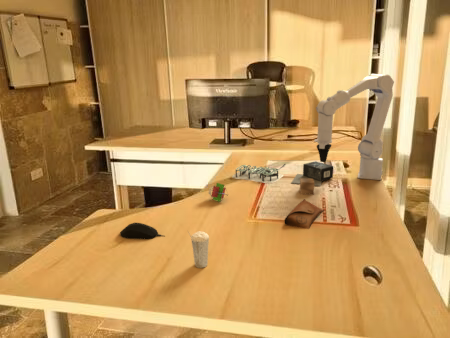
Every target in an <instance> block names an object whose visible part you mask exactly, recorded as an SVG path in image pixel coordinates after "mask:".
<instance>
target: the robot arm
mask: <svg viewBox="0 0 450 338" xmlns="http://www.w3.org/2000/svg"><path fill="white" fill-rule="evenodd" d="M394 83H395V81H394V79H393V78H392V76H391V75H389V74H381V73H380V74H379V73H370V74H368V75H367V76H365V77H364V78H363V79H362V80H360V81H358V82H357V83H356V84H354V85H352V86H351V87H350V88H349V89H347V90H343V89H342V90H340V89H338V90H337V91H336V93H334V94H333V95H331V96H328V97H326V99H322V100H320V101H319V102H318V104H317V105H316V107H315V110H316V112H317V114H318V117H317V119H318V121H317V138H316V139H314V140H313V141H314V143H317V145H316V149H317V151H318V155H319V162H320V163H326V162H327V159H328V156H329V155H328V154H329V151H330V149H331V147H332V142H333V139H332V138H333V137H332V136H333V122H334V121H333V119H334V115H335V114H336V111H338V109H340V108H342V107H343V106H345V105H346V104H348V103H350V101H351V98H353V97H355V96H357V95H358V94H360V93H362V92H365V91H366V90H370V91H372V92H373V93H374V95H375V96H376V98H377V99H376V101H375V102H376V103H375V107H374V110H373V113H372V116H371V120H370V123H369V126H368V131H367V133H366V134H364V136H363V137H361V138H362V139H361V140H360V142H359V143H358V146H357V151H358V153H359V156H360V161H359V169H358V173H357V179H362V180H374V181H375V180H376V181H377V180H378V181H381V180H382V175H383V164H384V163H383V162H384V159H383V157H381V156H382V155H383V150H384V149H383V146H384V141H383V139H382V132H383V129H384V126H385V122H386V119H387V116H388V112H389V110H390V108H391V103H392V99H393V95H394V93H393V86H394Z"/></svg>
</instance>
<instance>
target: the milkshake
mask: <svg viewBox="0 0 450 338" xmlns="http://www.w3.org/2000/svg"><path fill="white" fill-rule="evenodd" d="M187 233H188V235H189V236H190V239H191V247H192V252H193V253H192V254H193V261H194V262H193V263H194V266H195V267H196V268H198V269H203V268H206V267H207V266H208V262H209V239H210V235H209V234H208V233H207V232H205V231H200V230H198V231H196V232H194V233H193V234H192V235H191V234H190V232H189V231H187Z"/></svg>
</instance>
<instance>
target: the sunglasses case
mask: <svg viewBox="0 0 450 338" xmlns="http://www.w3.org/2000/svg"><path fill="white" fill-rule="evenodd" d="M323 212H324V209H322V208H320V207H318V206H317V205H315V204H313V203H312V202H310V201H309V200H307V199H306V198H303V199H302V200H301V201H300V202H299V203H298V204H297V205H296V206H295V207H294V208H293V209H292V210H291V211H290V212H289V213H288V214H287V216H286V217H285V218H284V221H283V222H284V224H285V226H289V227H294V228H297V229H298V228H300V229H304V230H305V229H306V230H309V229H310V228H311V225H312V224H313V222H314V221H315V220H316V219H317V218H318V217H319V216H320V214H321V213H323Z"/></svg>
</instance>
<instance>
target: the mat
mask: <svg viewBox="0 0 450 338" xmlns="http://www.w3.org/2000/svg"><path fill="white" fill-rule="evenodd" d="M300 178H307V179H312V178H309V177H306V176H303V173H297V174H295V176H294V178H293V179H292V181H291V182H290V184H294V185H300ZM313 180H314V187H321V185H322V183H323V181H318V180H315V179H313Z"/></svg>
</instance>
